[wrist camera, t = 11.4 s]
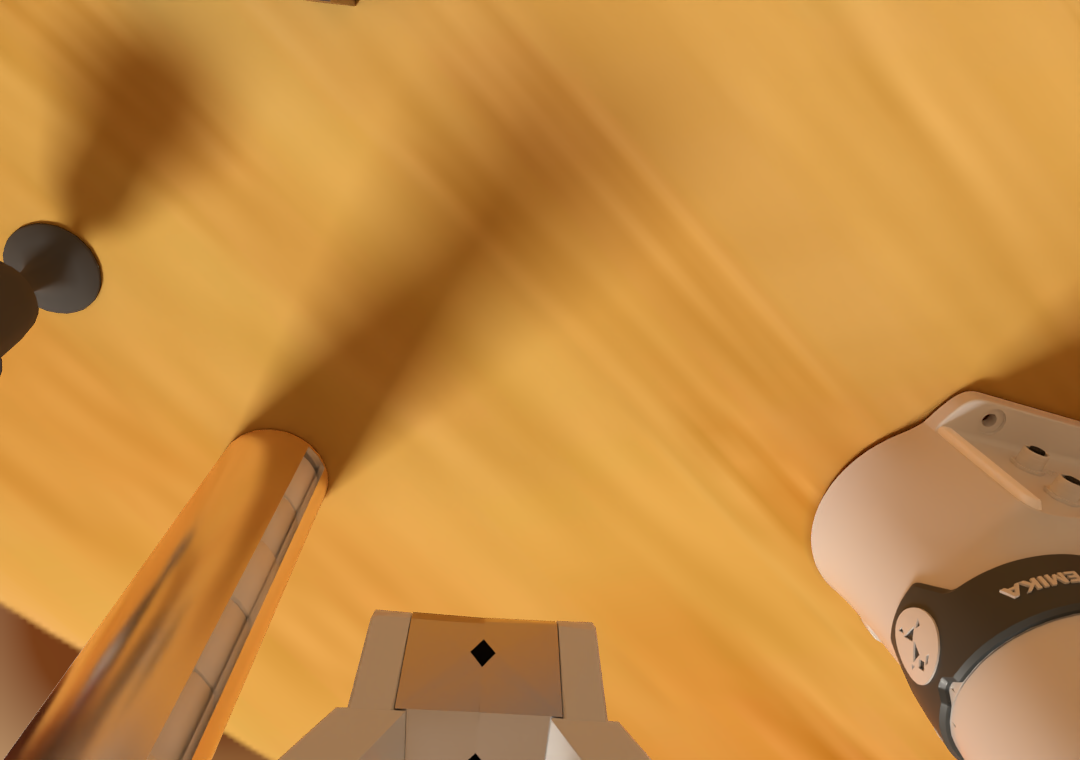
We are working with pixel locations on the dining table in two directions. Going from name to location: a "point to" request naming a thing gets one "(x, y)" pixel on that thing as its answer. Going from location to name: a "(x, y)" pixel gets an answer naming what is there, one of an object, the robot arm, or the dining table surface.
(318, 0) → the collar
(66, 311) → the sundae
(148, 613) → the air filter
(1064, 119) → the dining table surface
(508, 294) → the dining table surface
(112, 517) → the dining table surface
